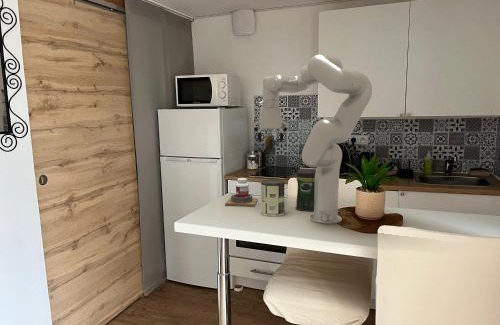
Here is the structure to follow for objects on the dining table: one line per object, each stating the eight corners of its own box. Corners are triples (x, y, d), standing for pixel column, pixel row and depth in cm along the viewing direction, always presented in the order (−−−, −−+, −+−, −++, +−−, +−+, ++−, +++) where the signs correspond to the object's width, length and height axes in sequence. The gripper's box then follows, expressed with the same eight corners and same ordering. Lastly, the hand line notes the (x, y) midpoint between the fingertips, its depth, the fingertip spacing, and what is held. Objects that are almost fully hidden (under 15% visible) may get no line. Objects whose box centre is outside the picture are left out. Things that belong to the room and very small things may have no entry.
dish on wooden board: (254, 206, 171) (254, 199, 171) (225, 205, 173) (225, 198, 173) (257, 200, 185) (257, 193, 185) (230, 199, 187) (230, 192, 186)
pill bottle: (235, 199, 182) (235, 177, 180) (247, 199, 182) (247, 177, 181) (236, 202, 175) (236, 179, 174) (249, 202, 176) (249, 179, 175)
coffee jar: (318, 208, 169) (319, 168, 167) (316, 212, 161) (317, 170, 159) (297, 206, 172) (298, 167, 170) (294, 210, 164) (295, 169, 162)
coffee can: (277, 209, 166) (278, 178, 165) (288, 215, 157) (289, 182, 155) (257, 211, 162) (257, 180, 161) (266, 217, 153) (266, 183, 151)
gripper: (251, 104, 166) (251, 142, 167) (289, 104, 164) (289, 142, 165) (253, 104, 173) (252, 141, 175) (289, 104, 171) (289, 141, 173)
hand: (270, 141), depth 170 cm, fingers open, 9 cm apart
